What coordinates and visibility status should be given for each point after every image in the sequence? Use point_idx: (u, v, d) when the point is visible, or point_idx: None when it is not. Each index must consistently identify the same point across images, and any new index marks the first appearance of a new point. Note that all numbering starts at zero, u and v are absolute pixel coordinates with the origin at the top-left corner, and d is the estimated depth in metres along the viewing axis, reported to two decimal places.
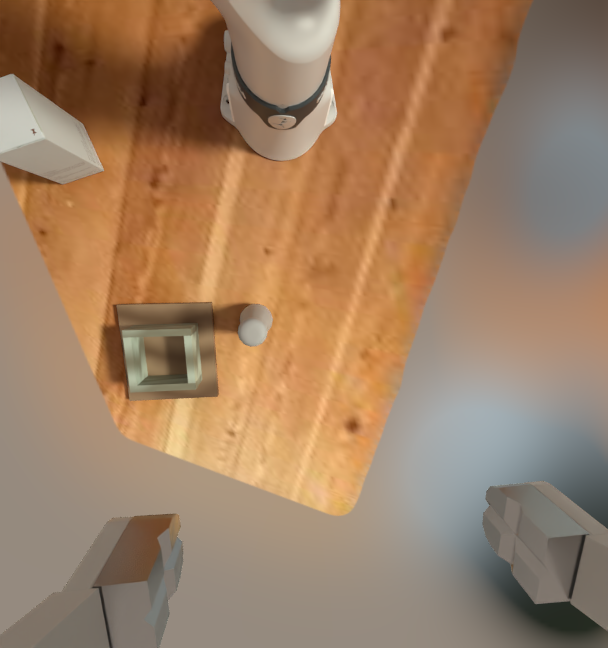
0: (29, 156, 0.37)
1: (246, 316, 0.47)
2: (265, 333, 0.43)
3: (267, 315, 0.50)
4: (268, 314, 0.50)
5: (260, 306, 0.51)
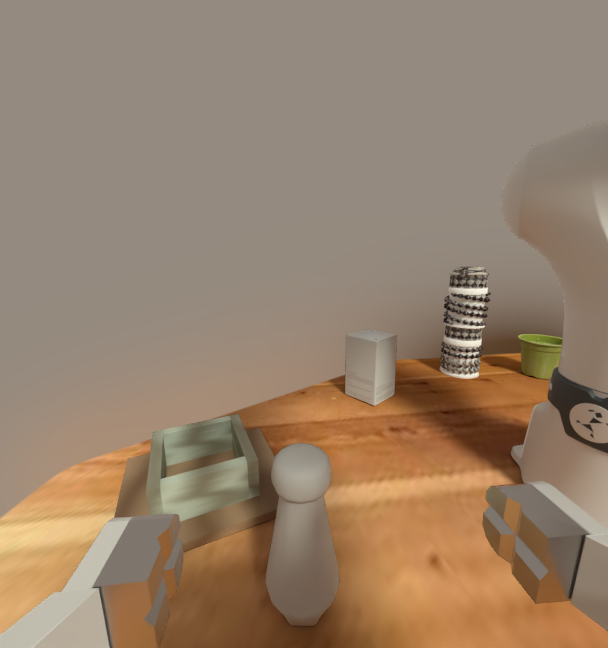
0: (357, 349, 0.55)
1: None
2: (311, 479, 0.19)
3: (329, 564, 0.21)
4: (330, 572, 0.21)
5: (336, 559, 0.23)
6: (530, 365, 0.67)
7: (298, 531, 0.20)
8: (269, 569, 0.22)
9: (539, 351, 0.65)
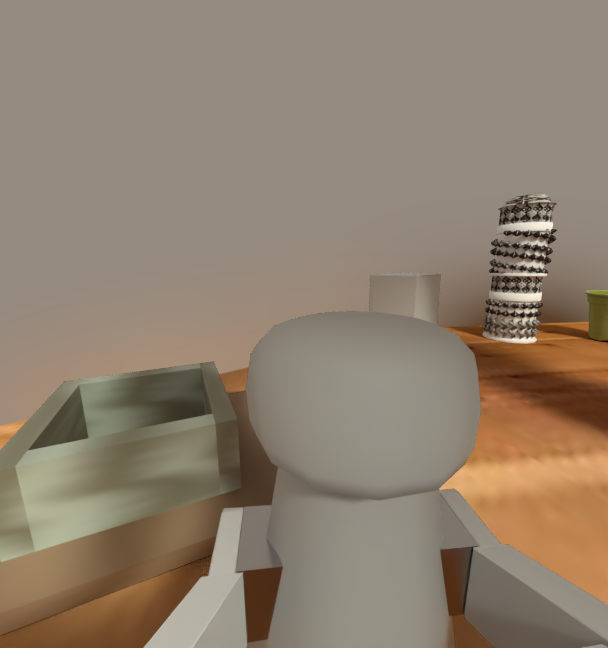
0: (387, 292, 0.40)
1: None
2: (433, 377, 0.04)
3: None
4: None
5: None
6: (606, 326, 0.51)
7: (354, 615, 0.05)
8: None
9: None
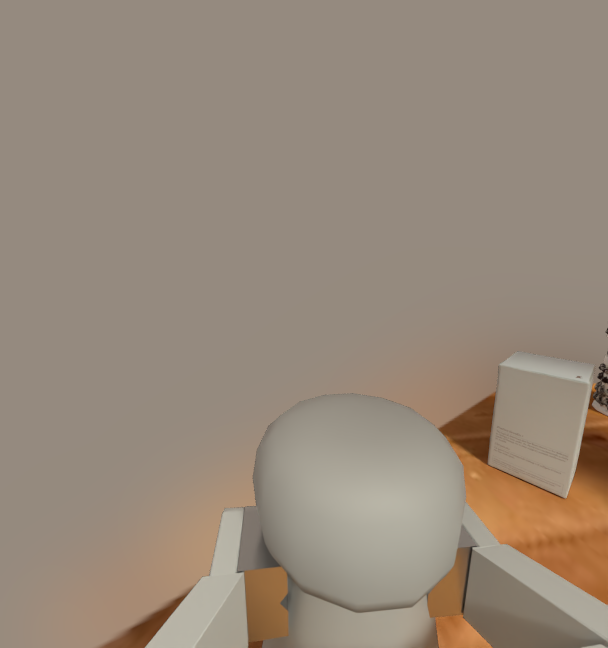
0: (531, 393, 0.30)
1: None
2: (407, 513, 0.04)
3: None
4: None
5: None
6: None
7: None
8: None
9: None
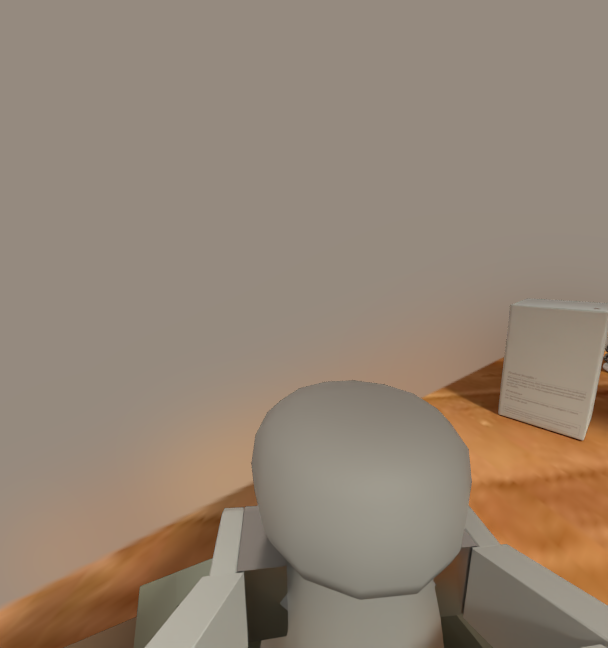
0: (544, 331, 0.28)
1: None
2: (411, 495, 0.04)
3: None
4: None
5: None
6: None
7: None
8: None
9: None
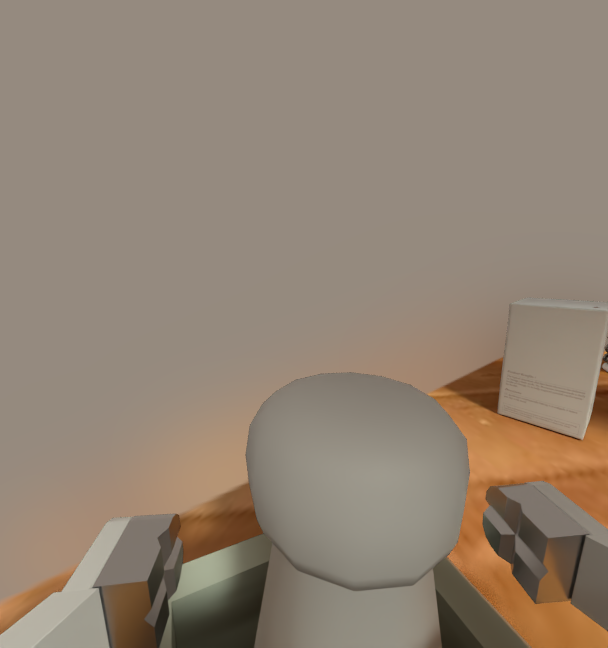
0: (544, 329, 0.28)
1: None
2: (407, 483, 0.04)
3: None
4: None
5: None
6: None
7: None
8: None
9: None
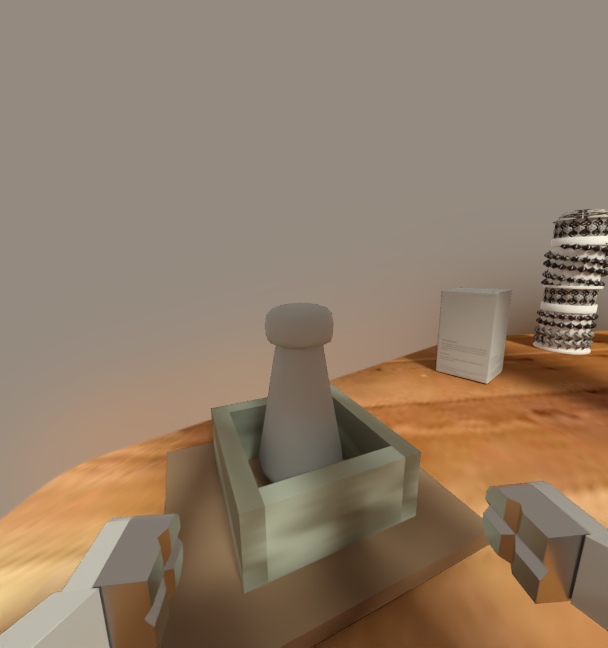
0: (462, 308, 0.41)
1: None
2: (307, 317, 0.17)
3: (328, 433, 0.18)
4: (330, 444, 0.18)
5: (339, 442, 0.20)
6: None
7: (292, 386, 0.18)
8: (262, 440, 0.20)
9: None
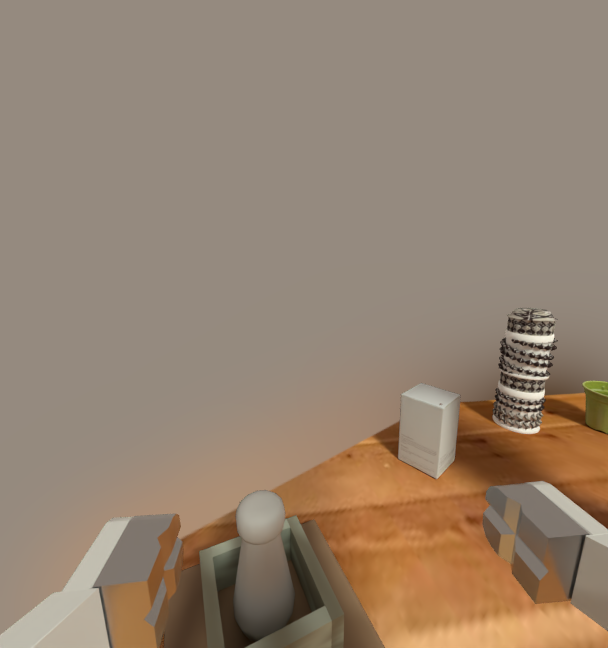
0: (417, 413, 0.48)
1: None
2: (262, 526, 0.24)
3: (281, 594, 0.26)
4: (282, 601, 0.26)
5: (292, 590, 0.27)
6: (600, 419, 0.60)
7: (254, 566, 0.25)
8: (235, 592, 0.27)
9: None
